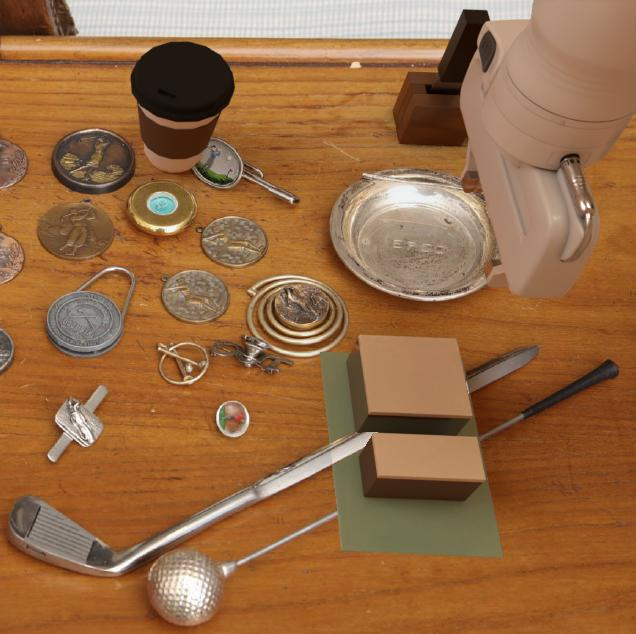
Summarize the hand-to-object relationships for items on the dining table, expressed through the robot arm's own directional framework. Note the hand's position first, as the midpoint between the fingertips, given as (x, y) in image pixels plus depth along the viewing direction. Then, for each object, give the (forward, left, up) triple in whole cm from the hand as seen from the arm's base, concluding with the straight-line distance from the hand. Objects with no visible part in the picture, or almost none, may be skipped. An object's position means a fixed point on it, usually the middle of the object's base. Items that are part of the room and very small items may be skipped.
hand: (482, 231), depth 74 cm
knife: (-7, -31, -20) cm, 38 cm away
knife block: (-7, -31, -20) cm, 38 cm away
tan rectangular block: (+2, +13, -19) cm, 23 cm away
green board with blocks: (+2, +10, -20) cm, 23 cm away
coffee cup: (+23, -26, -20) cm, 40 cm away
